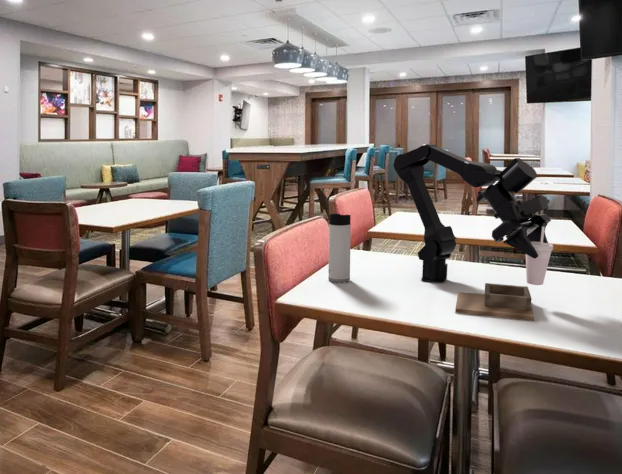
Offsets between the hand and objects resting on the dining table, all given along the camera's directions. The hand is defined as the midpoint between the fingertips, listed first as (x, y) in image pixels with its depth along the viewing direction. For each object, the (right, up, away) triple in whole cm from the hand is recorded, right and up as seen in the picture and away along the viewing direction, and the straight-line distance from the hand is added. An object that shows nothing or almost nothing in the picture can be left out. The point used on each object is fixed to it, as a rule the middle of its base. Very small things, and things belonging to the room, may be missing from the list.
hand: (543, 255), depth 116 cm
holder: (-11, -13, +2) cm, 17 cm away
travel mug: (-47, -8, +25) cm, 54 cm away
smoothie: (-1, -7, +2) cm, 7 cm away
